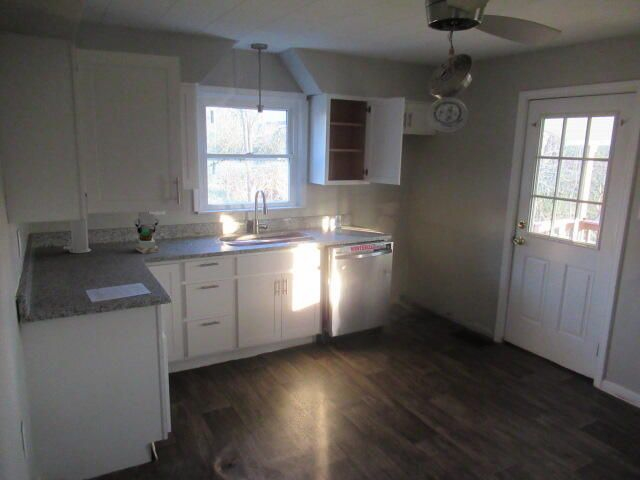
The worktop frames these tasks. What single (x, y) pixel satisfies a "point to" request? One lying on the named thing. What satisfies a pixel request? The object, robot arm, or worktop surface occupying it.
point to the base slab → (146, 249)
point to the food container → (146, 232)
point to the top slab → (147, 243)
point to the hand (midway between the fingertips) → (146, 232)
